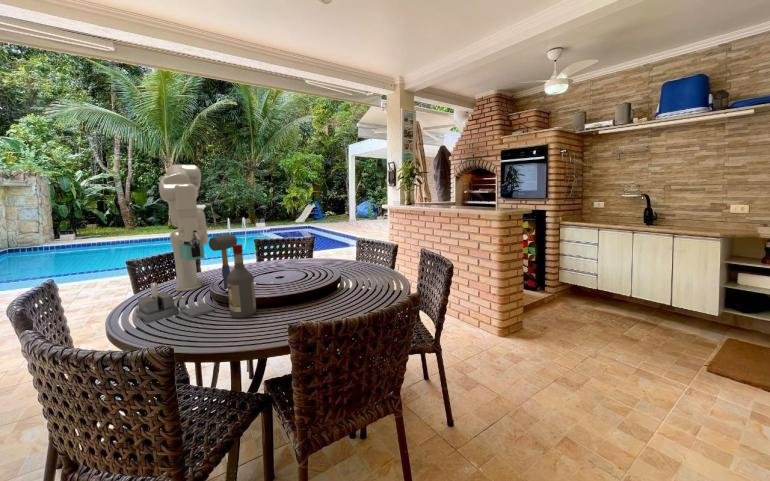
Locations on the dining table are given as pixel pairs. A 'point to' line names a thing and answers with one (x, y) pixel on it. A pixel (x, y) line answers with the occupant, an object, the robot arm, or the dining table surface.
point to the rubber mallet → (223, 251)
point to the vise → (157, 305)
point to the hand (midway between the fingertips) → (192, 255)
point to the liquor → (240, 287)
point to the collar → (189, 252)
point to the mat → (198, 310)
